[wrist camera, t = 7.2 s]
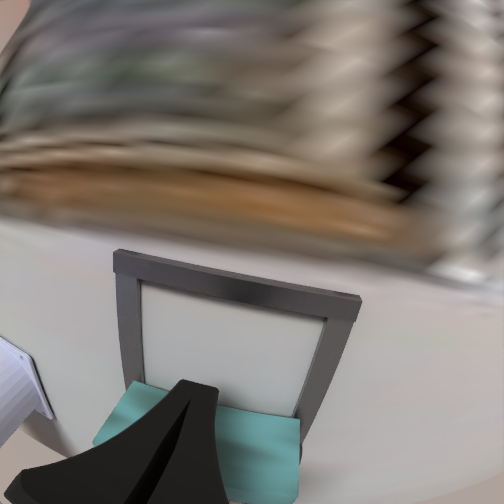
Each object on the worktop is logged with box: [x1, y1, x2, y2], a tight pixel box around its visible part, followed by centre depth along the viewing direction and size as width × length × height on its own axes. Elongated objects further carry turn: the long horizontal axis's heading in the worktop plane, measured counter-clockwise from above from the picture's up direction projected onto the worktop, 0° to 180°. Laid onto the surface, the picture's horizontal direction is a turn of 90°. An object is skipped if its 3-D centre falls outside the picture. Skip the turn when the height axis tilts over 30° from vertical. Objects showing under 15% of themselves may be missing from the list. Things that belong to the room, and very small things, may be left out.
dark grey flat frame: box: [113, 249, 362, 444], centre depth 15 cm, size 11×20×1 cm, turn 171°
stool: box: [92, 381, 302, 504], centre depth 14 cm, size 11×13×5 cm
